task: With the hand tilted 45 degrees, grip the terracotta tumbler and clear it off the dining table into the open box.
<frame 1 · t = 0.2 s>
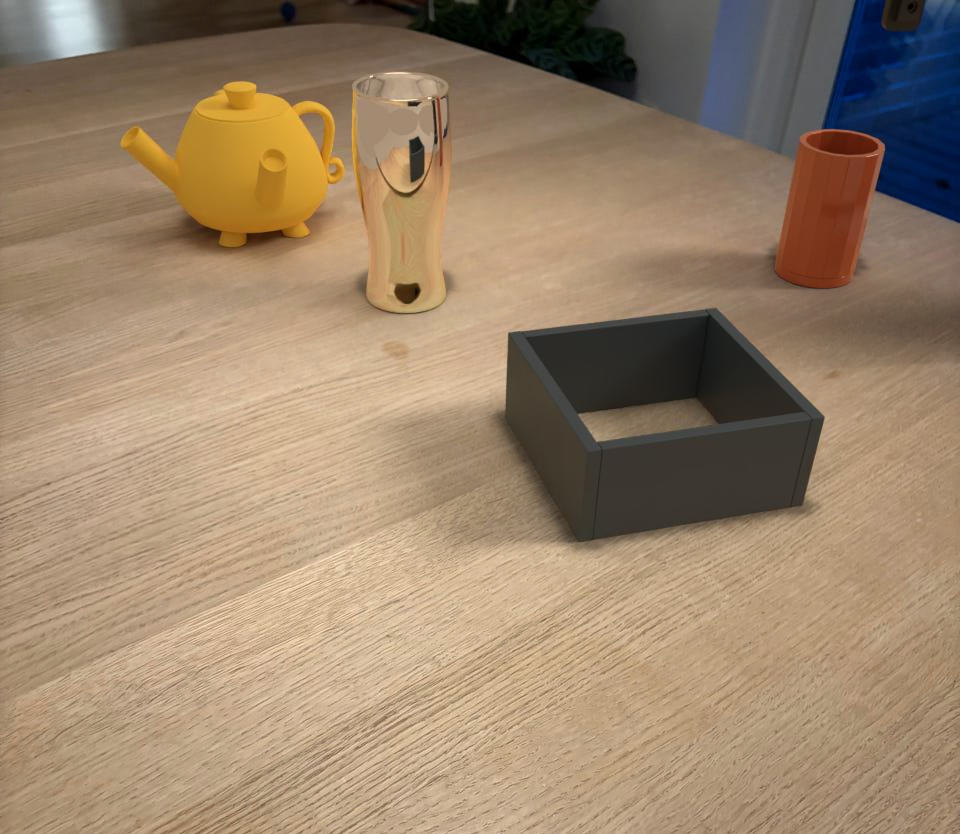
hand: (872, 13, 72), 20 cm above the table, tool pointing down, fingers open, 8 cm apart
tumbler: (813, 271, 90), on the table
beer glass: (406, 298, 86), on the table
open box: (644, 473, 68), on the table
teapot: (248, 232, 95), on the table
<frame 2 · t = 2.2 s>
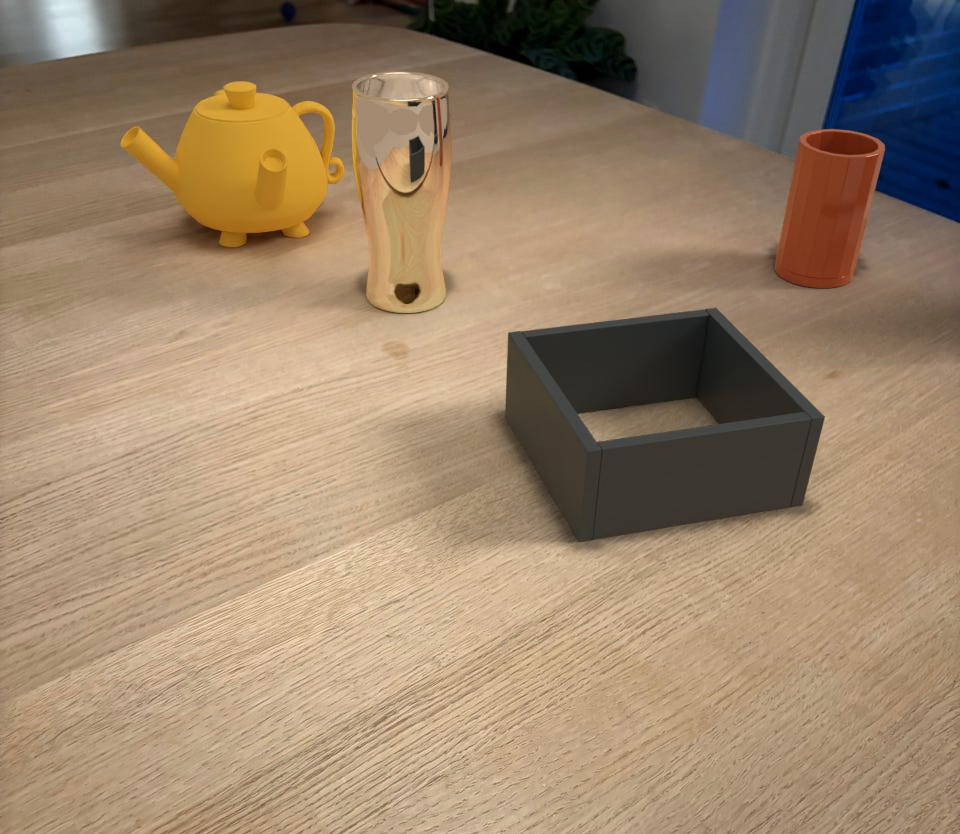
nothing on the table moved.
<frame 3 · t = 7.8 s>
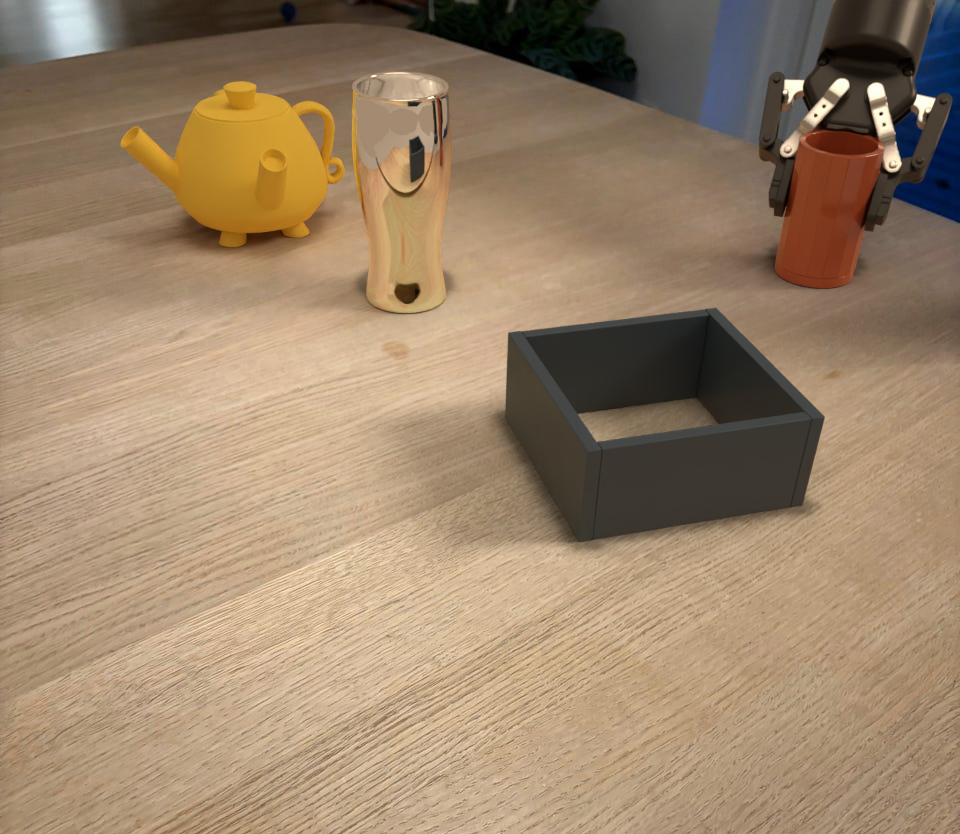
hand: (823, 219, 86), 5 cm above the table, tool tilted 45°, fingers closed on tumbler, 6 cm apart
tumbler: (813, 271, 90), on the table, touching gripper
everything else where it was.
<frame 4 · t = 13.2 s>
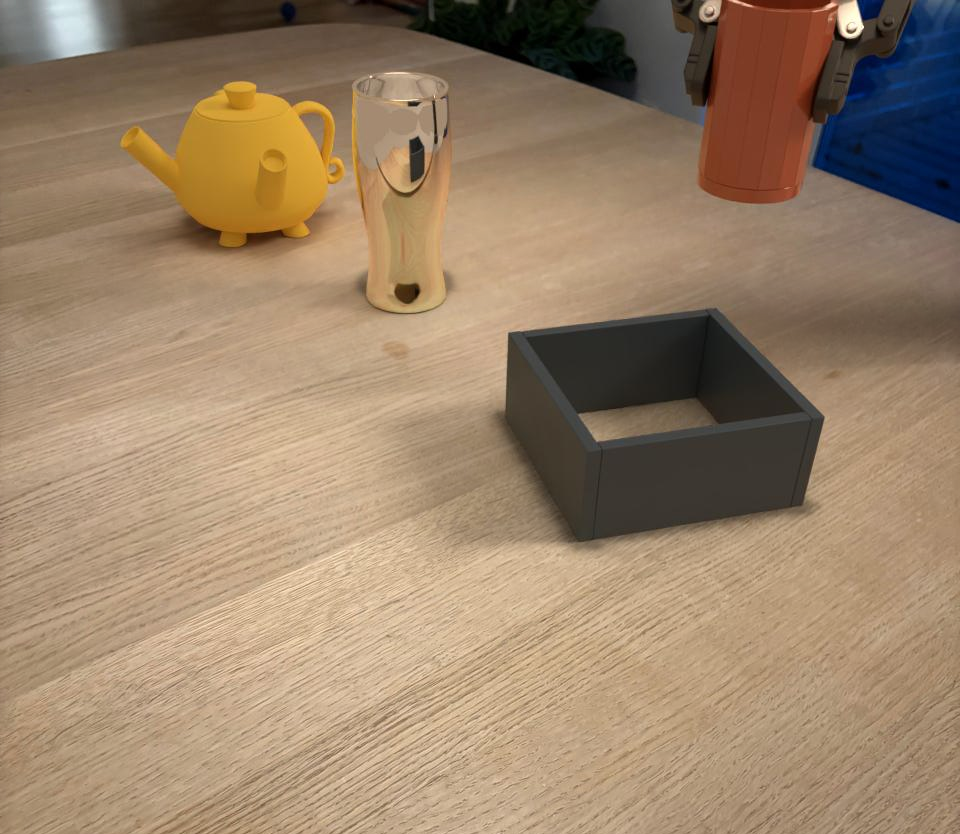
hand: (758, 106, 63), 18 cm above the table, tool tilted 45°, fingers closed on tumbler, 6 cm apart
tumbler: (748, 184, 67), point 13 cm above the table, touching gripper
everything else where it was.
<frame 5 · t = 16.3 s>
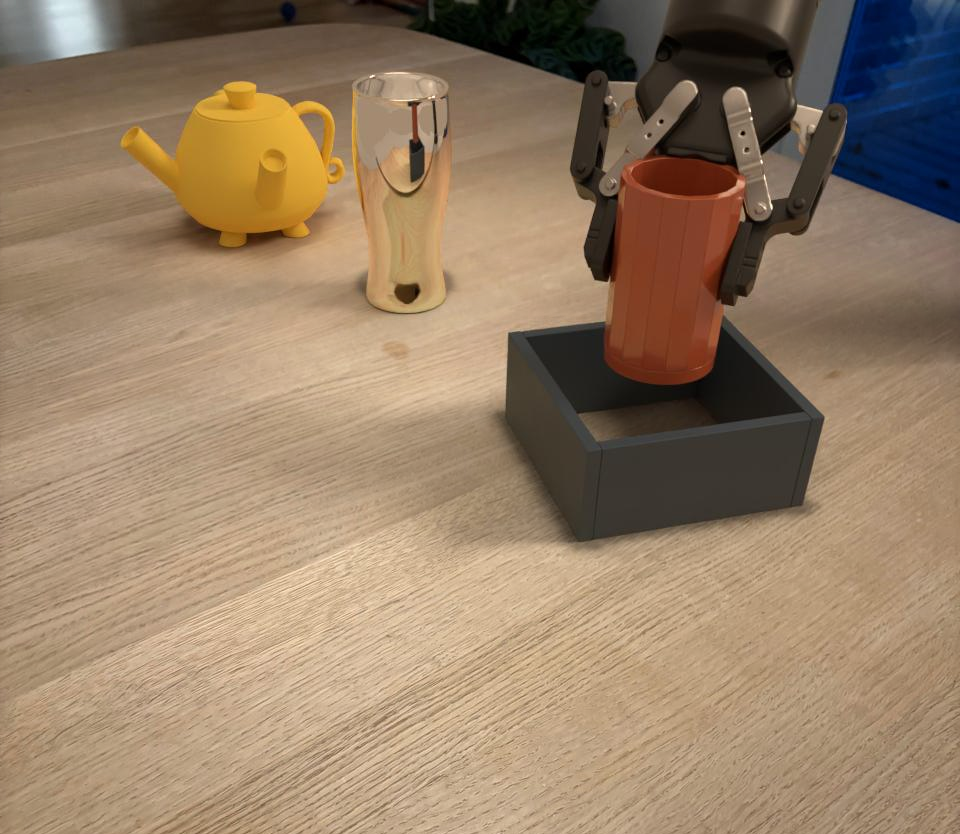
hand: (662, 287, 59), 13 cm above the table, tool tilted 45°, fingers closed on tumbler, 6 cm apart
tumbler: (658, 357, 63), point 8 cm above the table, touching gripper
everything else where it was.
when the fingers open (6 cm above the table, at t = 18.8 s): tumbler stays where it is, resting on open box.
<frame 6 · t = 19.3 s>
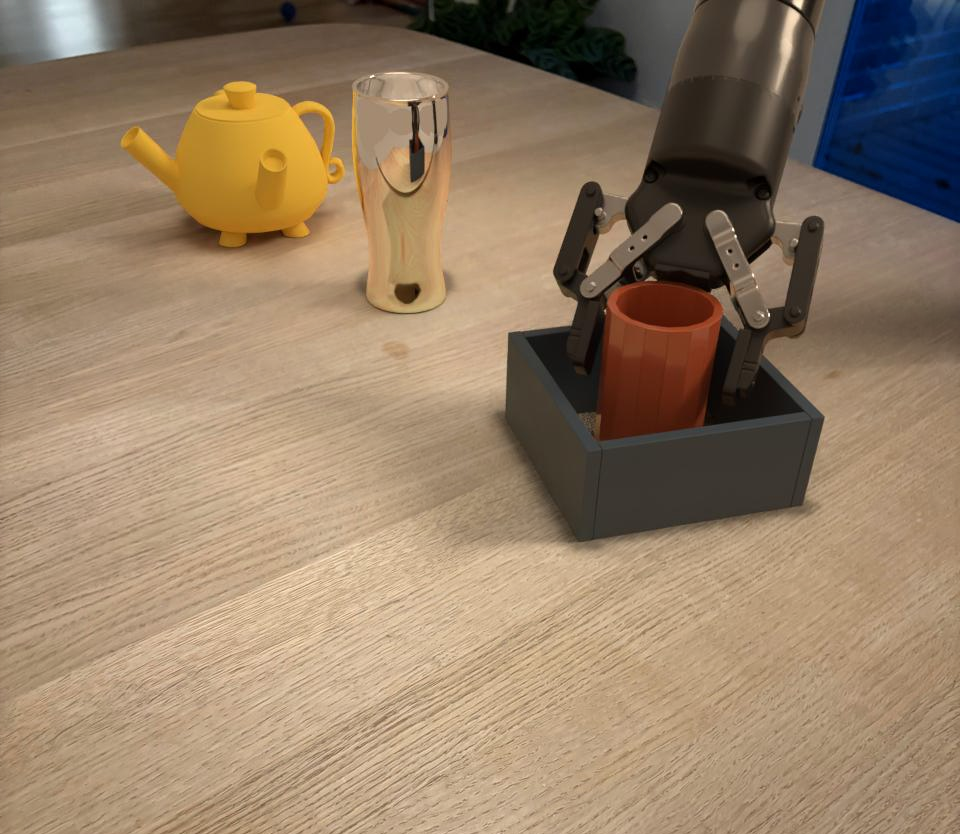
hand: (653, 385, 63), 7 cm above the table, tool tilted 45°, fingers open, 8 cm apart
tumbler: (643, 461, 68), point 1 cm above the table, touching open box
everything else where it was.
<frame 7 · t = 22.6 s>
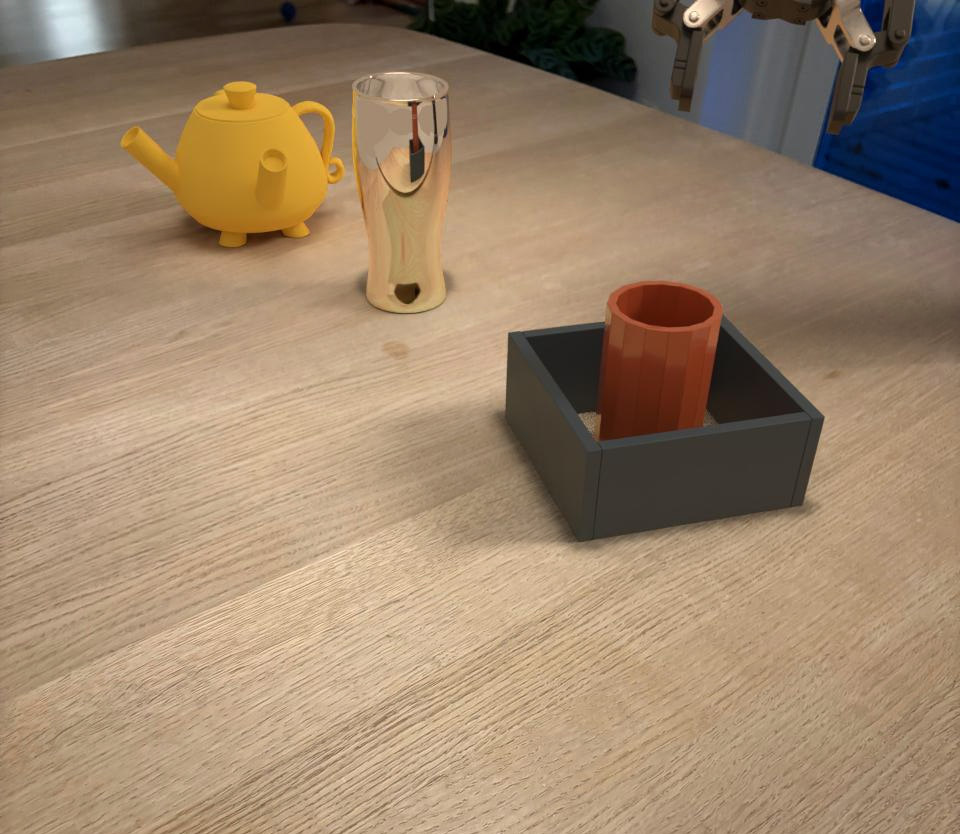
hand: (759, 116, 64), 18 cm above the table, tool tilted 45°, fingers open, 8 cm apart
nothing on the table moved.
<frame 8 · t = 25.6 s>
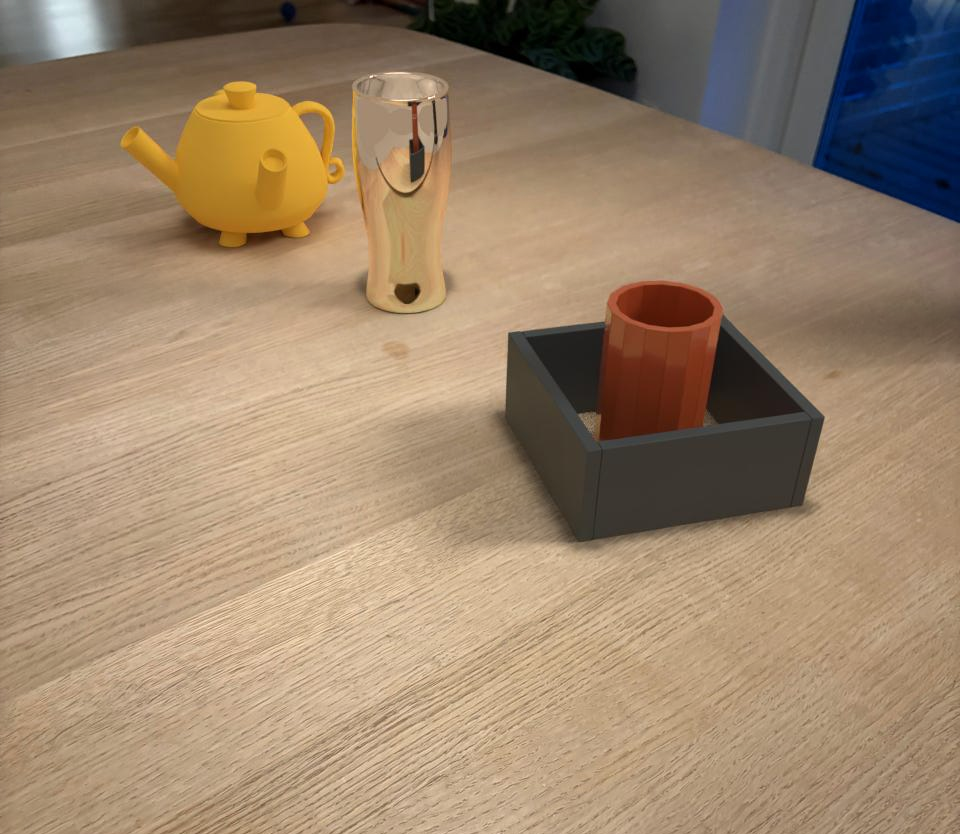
nothing on the table moved.
at the end: tumbler inside the target area in the open box (0.1 cm from its centre), point 0.8 cm above the open box's base; tumbler tilted 0°; the gripper is holding nothing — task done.
